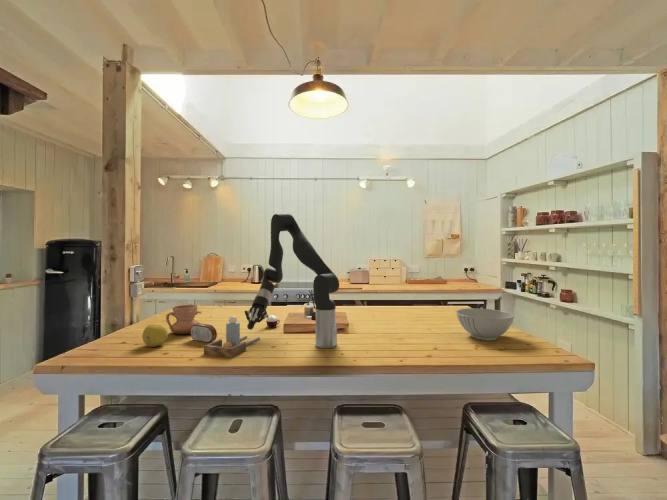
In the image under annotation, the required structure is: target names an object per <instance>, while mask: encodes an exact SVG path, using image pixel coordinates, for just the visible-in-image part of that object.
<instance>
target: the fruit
mask: <svg viewBox="0 0 667 500" xmlns="http://www.w3.org/2000/svg"><path fill="white" fill-rule="evenodd" d="M141 336H142V337H141V338H142V341H143V343H144V344H145V345H146V346H147V347H149V348H154V347H158V346H160V345H163V344H165V342H167V341H168V337H169V331H168V330H167V328H166V327H165V326H164V325H161V324H155V323H151V324H148V325H147V326H146V327H145V328H144V330H143V331H142V335H141Z"/></svg>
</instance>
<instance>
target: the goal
mask: <svg viewBox="0 0 667 500" xmlns="http://www.w3.org/2000/svg"><path fill="white" fill-rule="evenodd" d="M246 343H247V341H241V342H240V344H238V345H236V346H234V347H231V348H229V347H223V340H222V339H216V340H215V341H213V342H210V343H207V344H205V345H203V354H204V355H209V356H217V357H218V356H219V357H224V358H225V357H226V358H234V357H236V356H238V355H239V354H241V353H243V352H245V351H246V350H247V346H246Z"/></svg>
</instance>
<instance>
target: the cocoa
mask: <svg viewBox="0 0 667 500" xmlns="http://www.w3.org/2000/svg"><path fill="white" fill-rule="evenodd" d="M266 313H267V311H266ZM267 314H268V313H267ZM265 320H266V321H265V323H266V326H267V327H268V328H275V327H277V325H278V326H279V324H280V323H281V320H280V319H278V316H275V315H273V314H268V316H267V317H266V318H265Z"/></svg>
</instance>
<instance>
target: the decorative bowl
mask: <svg viewBox="0 0 667 500" xmlns="http://www.w3.org/2000/svg"><path fill="white" fill-rule="evenodd" d="M455 313H456V317H457V319H458V321H459V324H460V326H461V327H462V328H463V330H465V331H466V332H467V333H469V334H470V337H472V338H473V339H476V340H480V339H481V341H496V340H497V339H498V338H499V337H500V336H502V335H504V334H505V333H506V332H508V330H509V329H510V327H511V326H512V324H513V322H514V319H515V315H514V314H512V313H510V312H508V311H504V310H498V309H491V308H490V309H489V308H481V307H480V308H479V307H478V308H477V307H476V308H473V307H472V308H460V309H457V311H456V312H455Z"/></svg>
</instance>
